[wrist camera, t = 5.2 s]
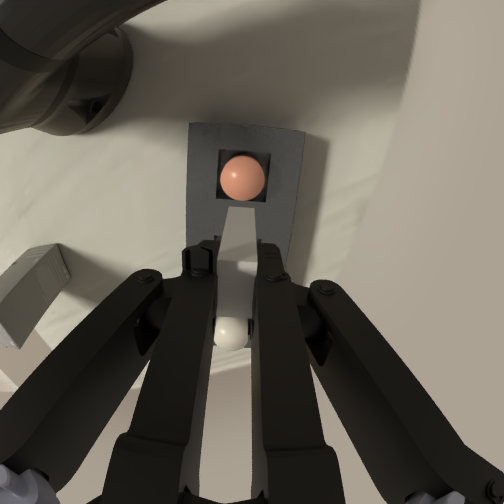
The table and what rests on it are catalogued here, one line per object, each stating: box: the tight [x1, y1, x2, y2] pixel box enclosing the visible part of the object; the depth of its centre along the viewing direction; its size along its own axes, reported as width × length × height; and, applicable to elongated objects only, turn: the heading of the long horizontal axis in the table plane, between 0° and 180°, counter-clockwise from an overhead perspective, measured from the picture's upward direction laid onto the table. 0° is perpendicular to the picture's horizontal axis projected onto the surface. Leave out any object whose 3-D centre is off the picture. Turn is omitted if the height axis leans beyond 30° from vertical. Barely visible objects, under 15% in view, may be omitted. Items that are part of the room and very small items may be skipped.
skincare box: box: [0, 244, 71, 349], centre depth 27 cm, size 8×7×16 cm
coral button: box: [220, 154, 265, 201], centre depth 26 cm, size 4×4×4 cm
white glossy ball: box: [214, 316, 248, 351], centre depth 32 cm, size 4×4×4 cm
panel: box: [186, 122, 305, 348], centre depth 31 cm, size 11×28×4 cm, turn 175°
